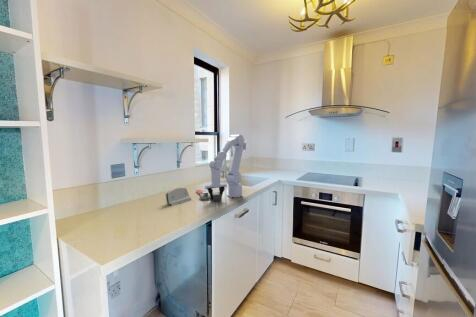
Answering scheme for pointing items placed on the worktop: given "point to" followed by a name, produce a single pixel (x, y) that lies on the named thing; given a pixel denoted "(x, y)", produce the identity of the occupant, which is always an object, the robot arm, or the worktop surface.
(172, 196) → the white electronic device
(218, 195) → the brushed grey cube
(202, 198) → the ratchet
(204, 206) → the worktop surface
